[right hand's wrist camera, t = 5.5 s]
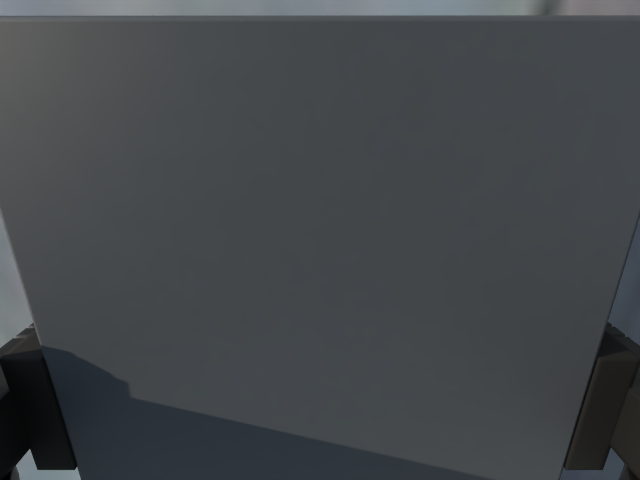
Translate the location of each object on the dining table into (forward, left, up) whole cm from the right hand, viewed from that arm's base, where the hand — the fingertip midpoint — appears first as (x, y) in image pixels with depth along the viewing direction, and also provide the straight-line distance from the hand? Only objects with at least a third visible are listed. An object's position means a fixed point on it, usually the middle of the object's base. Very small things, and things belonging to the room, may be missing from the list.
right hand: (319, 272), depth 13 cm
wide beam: (+8, +24, -1) cm, 26 cm away
